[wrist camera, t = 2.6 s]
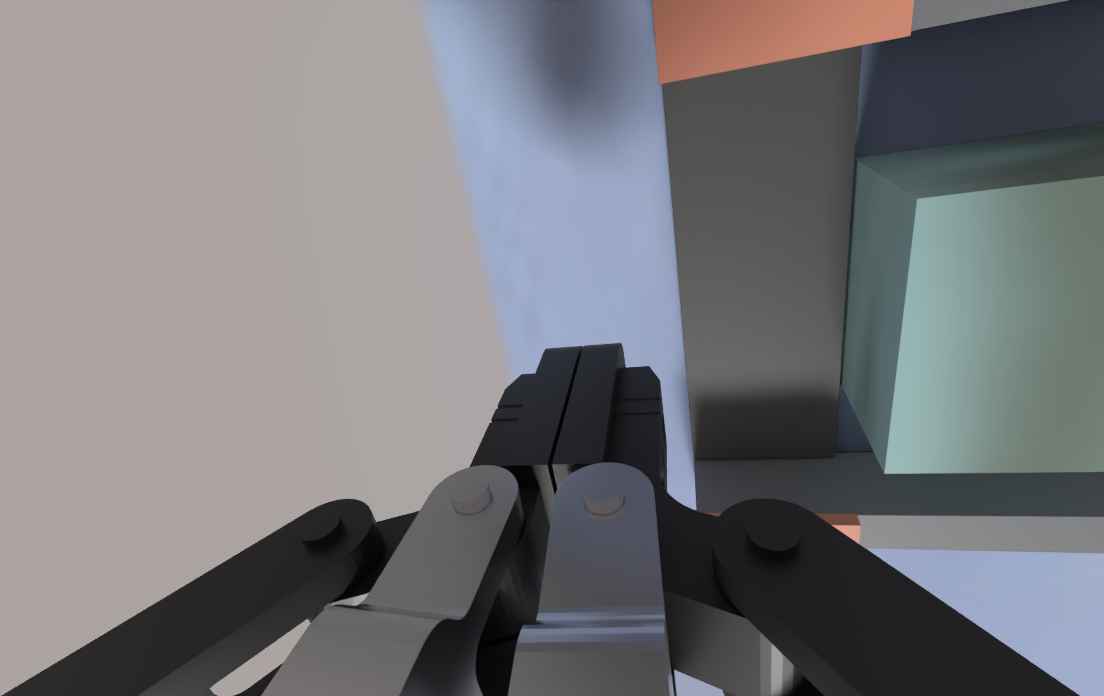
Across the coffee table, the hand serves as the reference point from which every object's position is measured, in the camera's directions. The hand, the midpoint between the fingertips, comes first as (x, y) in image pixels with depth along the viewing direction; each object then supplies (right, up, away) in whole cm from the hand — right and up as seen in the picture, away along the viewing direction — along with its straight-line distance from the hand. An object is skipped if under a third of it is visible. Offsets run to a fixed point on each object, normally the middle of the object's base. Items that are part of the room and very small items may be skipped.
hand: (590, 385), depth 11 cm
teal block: (+10, +3, +2) cm, 10 cm away
